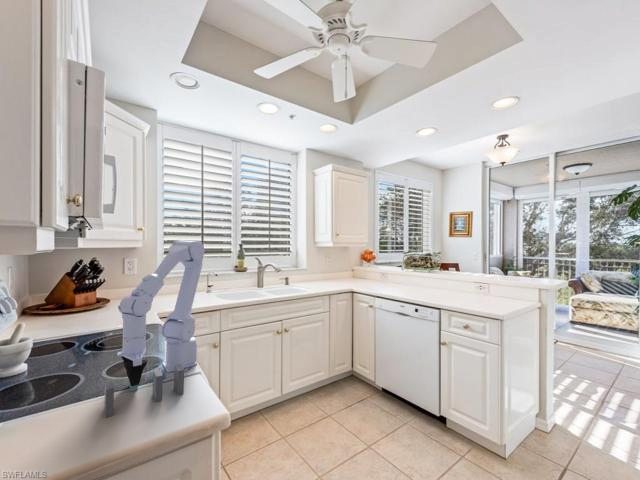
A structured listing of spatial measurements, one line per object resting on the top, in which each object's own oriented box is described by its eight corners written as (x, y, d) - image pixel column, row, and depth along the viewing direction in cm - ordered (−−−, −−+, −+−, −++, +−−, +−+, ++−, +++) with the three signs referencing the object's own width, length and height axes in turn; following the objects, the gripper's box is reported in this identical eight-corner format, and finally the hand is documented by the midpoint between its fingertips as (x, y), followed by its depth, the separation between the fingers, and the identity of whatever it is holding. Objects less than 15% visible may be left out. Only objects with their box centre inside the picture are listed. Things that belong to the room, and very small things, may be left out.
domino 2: (135, 383, 87) (135, 360, 87) (137, 389, 84) (138, 366, 83) (129, 385, 86) (129, 362, 86) (131, 391, 83) (131, 367, 82)
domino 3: (158, 393, 82) (159, 369, 82) (162, 400, 79) (162, 375, 79) (152, 394, 81) (153, 370, 81) (155, 402, 78) (156, 376, 78)
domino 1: (111, 406, 75) (112, 380, 75) (113, 415, 72) (114, 387, 72) (104, 409, 74) (104, 382, 74) (105, 417, 71) (106, 389, 71)
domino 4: (179, 387, 86) (180, 363, 86) (183, 393, 82) (184, 369, 82) (173, 388, 85) (174, 365, 85) (177, 395, 81) (178, 371, 81)
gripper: (115, 331, 87) (114, 375, 88) (120, 346, 76) (119, 396, 77) (142, 327, 92) (141, 368, 92) (150, 340, 81) (149, 388, 81)
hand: (133, 380), depth 85 cm, fingers open, 5 cm apart
